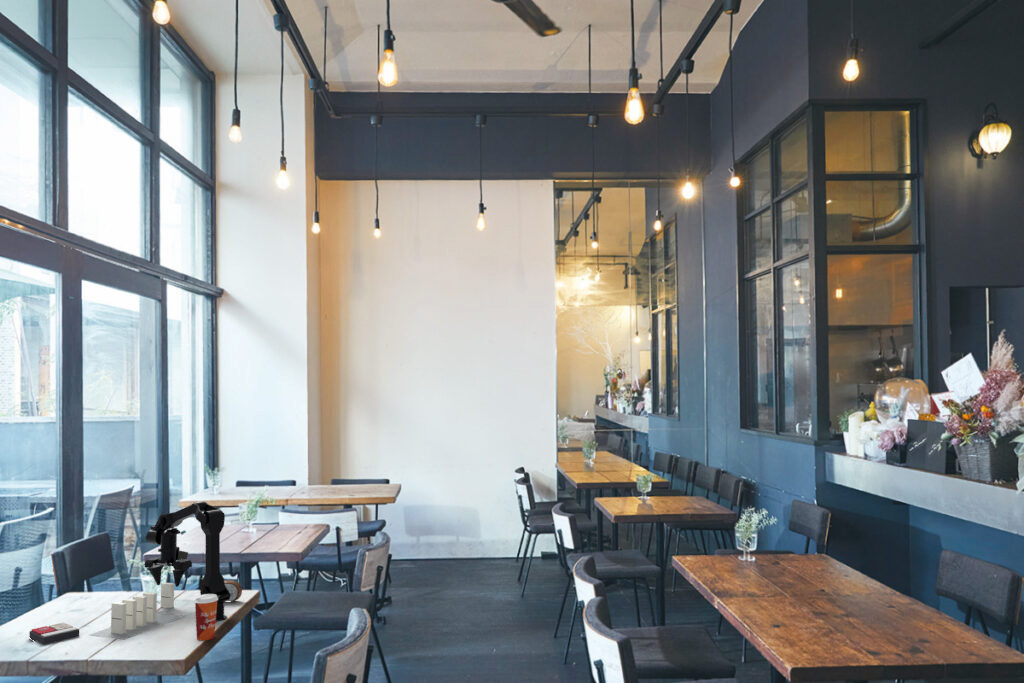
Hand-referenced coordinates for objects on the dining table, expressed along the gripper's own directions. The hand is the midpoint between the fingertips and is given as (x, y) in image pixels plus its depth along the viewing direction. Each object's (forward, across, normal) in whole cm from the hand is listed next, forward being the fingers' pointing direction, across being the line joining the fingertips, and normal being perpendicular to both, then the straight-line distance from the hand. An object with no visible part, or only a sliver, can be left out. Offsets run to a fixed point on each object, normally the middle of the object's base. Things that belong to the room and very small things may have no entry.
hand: (167, 585), depth 284 cm
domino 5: (+9, 0, 0) cm, 9 cm away
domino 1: (+8, -8, +30) cm, 32 cm away
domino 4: (+8, -8, +17) cm, 20 cm away
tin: (+9, -13, -15) cm, 22 cm away
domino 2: (+8, -8, +26) cm, 28 cm away
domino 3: (+8, -8, +21) cm, 24 cm away
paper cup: (+10, -40, +23) cm, 47 cm away
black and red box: (+10, +11, +39) cm, 42 cm away
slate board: (+9, -8, +21) cm, 24 cm away
